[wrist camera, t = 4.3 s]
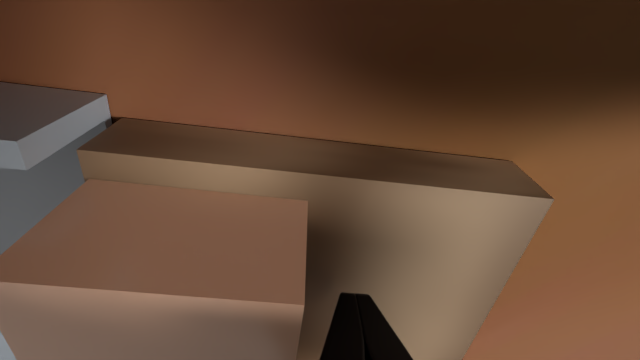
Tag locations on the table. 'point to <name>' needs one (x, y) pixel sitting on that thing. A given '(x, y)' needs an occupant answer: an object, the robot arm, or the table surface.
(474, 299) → the board
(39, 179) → the tray
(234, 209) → the tile
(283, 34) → the table surface
